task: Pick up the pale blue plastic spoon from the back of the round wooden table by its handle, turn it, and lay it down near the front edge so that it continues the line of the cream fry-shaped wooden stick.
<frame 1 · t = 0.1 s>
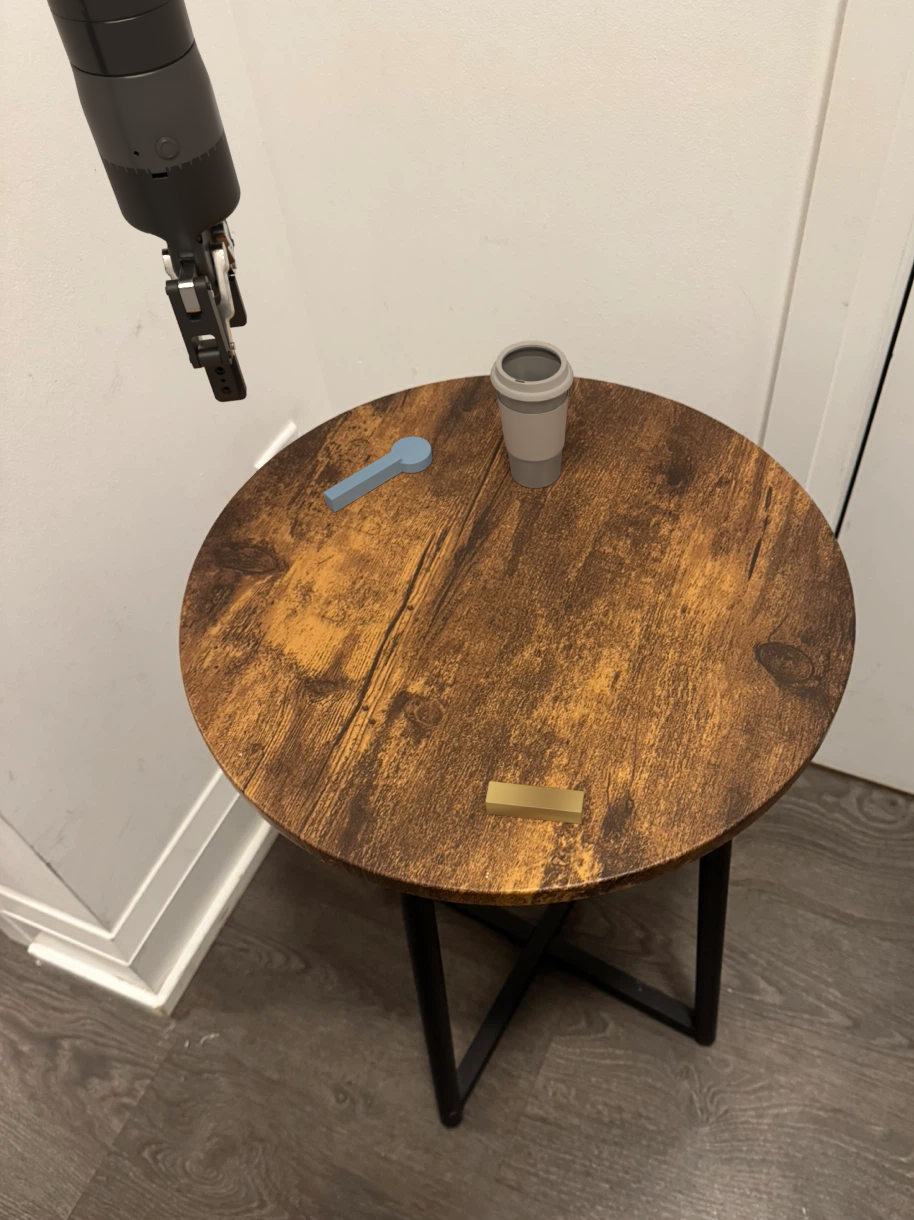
hand: (233, 360, 75), 20 cm above the table, tool pointing down, fingers open, 8 cm apart
spoon: (374, 482, 96), on the table
cup: (535, 472, 97), on the table
fry stick: (535, 808, 76), on the table
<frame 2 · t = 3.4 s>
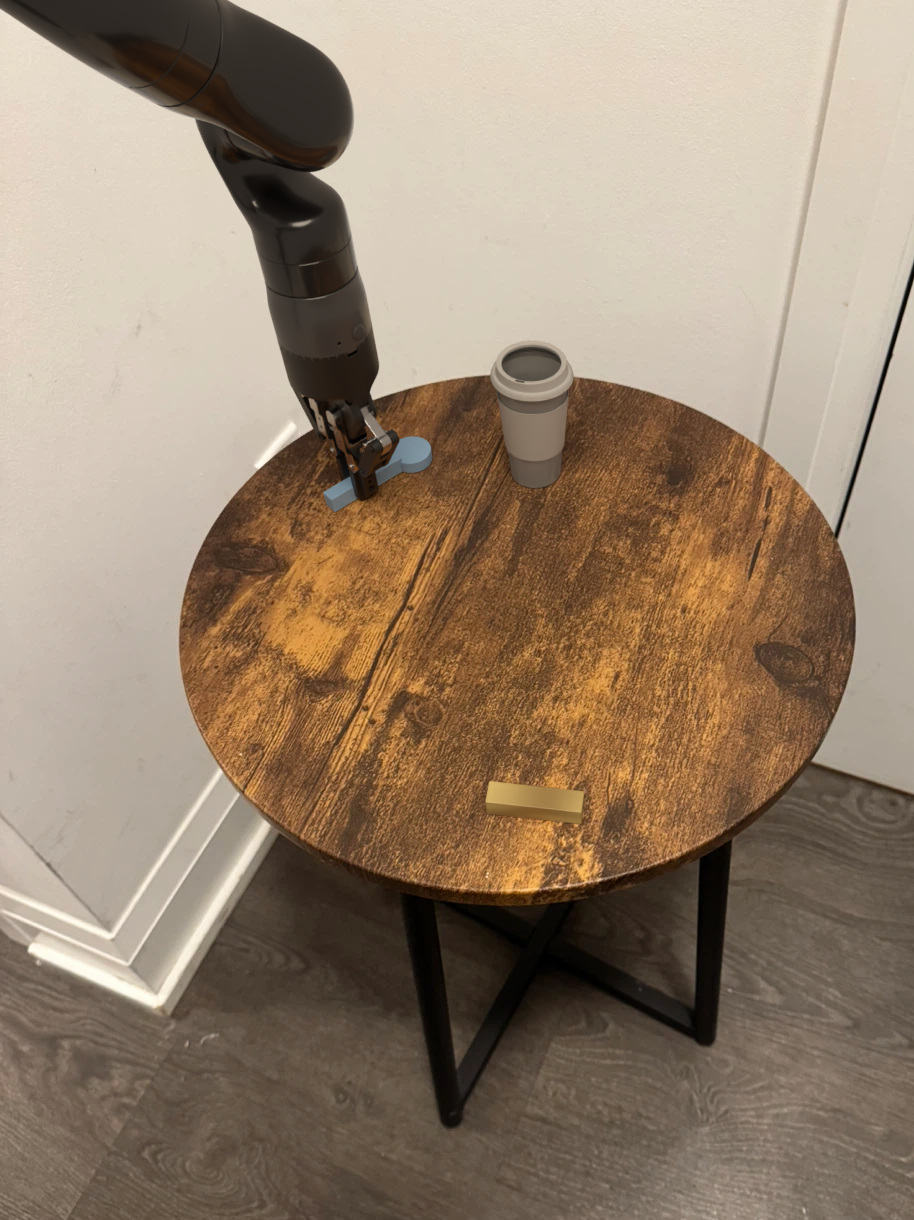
hand: (361, 488, 96), 0 cm above the table, tool pointing down, fingers closed on spoon, 1 cm apart
spoon: (374, 482, 96), on the table, touching gripper
everything else where it was.
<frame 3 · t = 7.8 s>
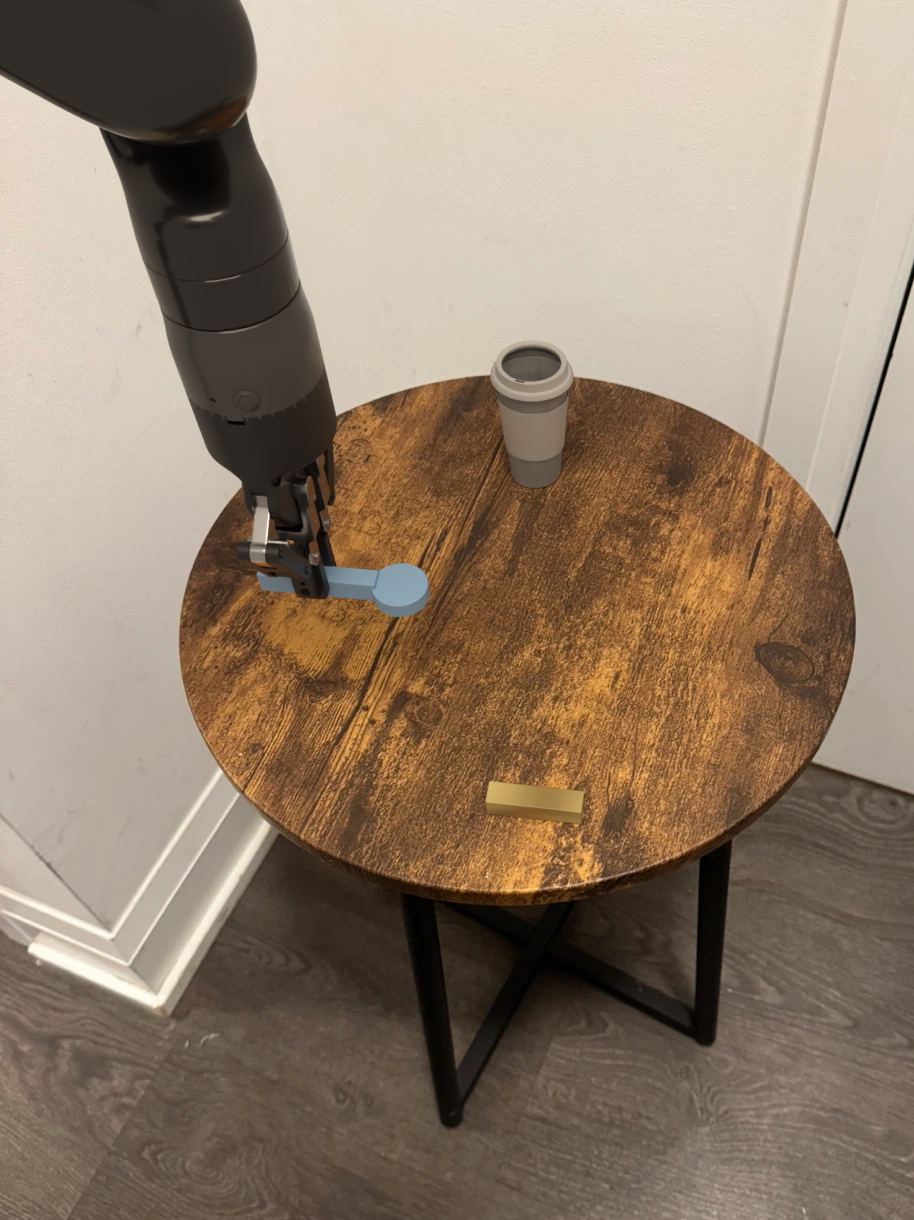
hand: (317, 583, 70), 15 cm above the table, tool pointing down, fingers closed on spoon, 1 cm apart
spoon: (336, 589, 70), point 14 cm above the table, touching gripper
everything else where it was.
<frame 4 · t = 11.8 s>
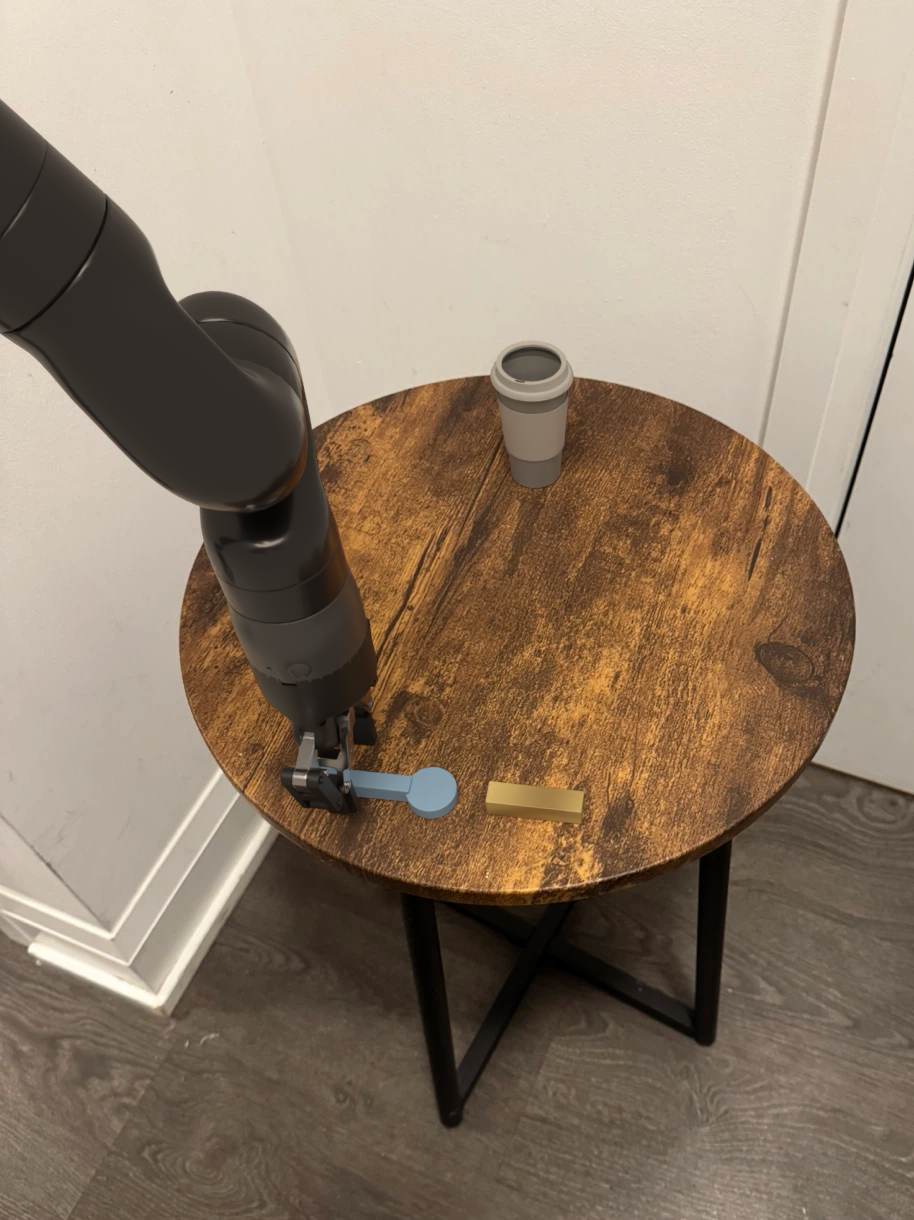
hand: (353, 773, 76), 2 cm above the table, tool pointing down, fingers open, 5 cm apart
spoon: (374, 790, 78), on the table
everything else where it was.
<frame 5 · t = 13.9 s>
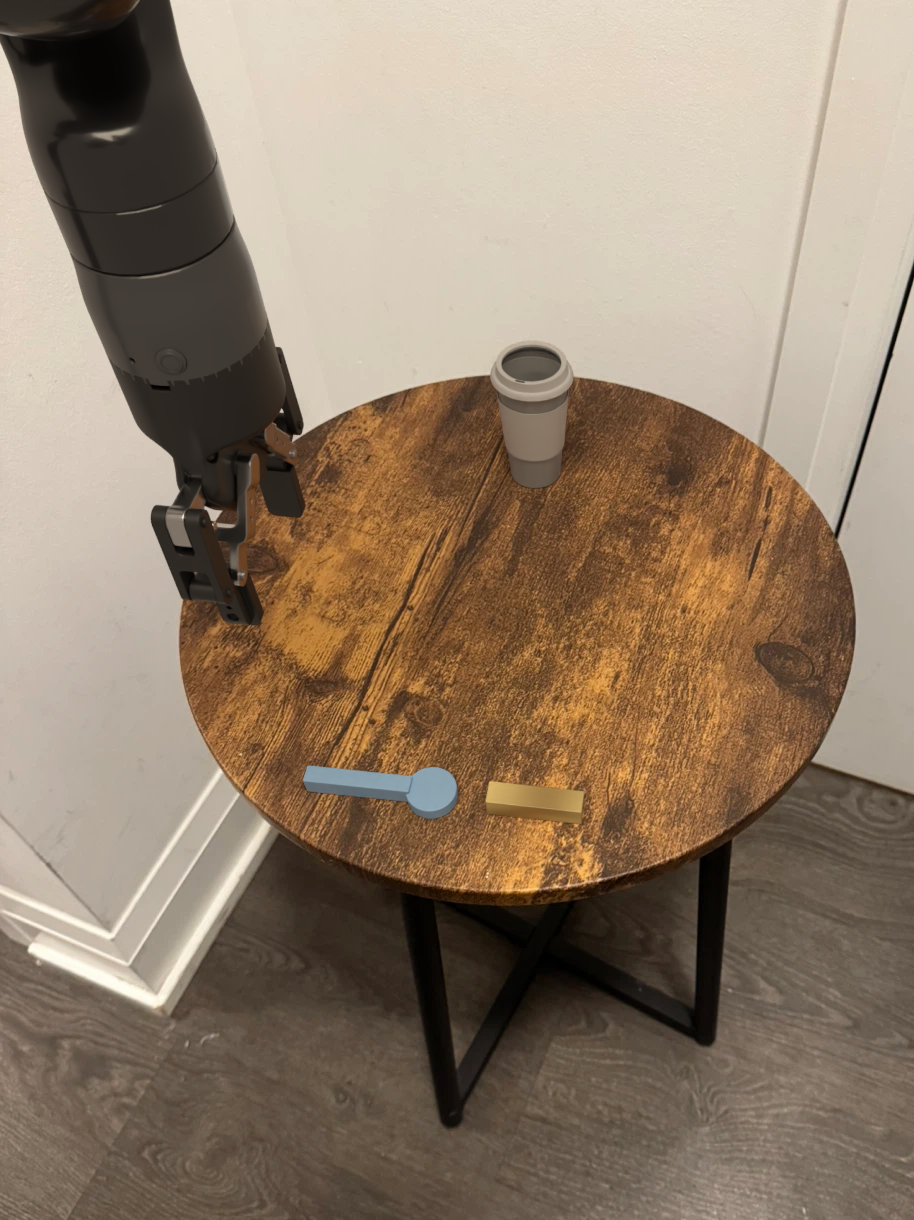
hand: (267, 564, 61), 22 cm above the table, tool pointing down, fingers open, 8 cm apart
nothing on the table moved.
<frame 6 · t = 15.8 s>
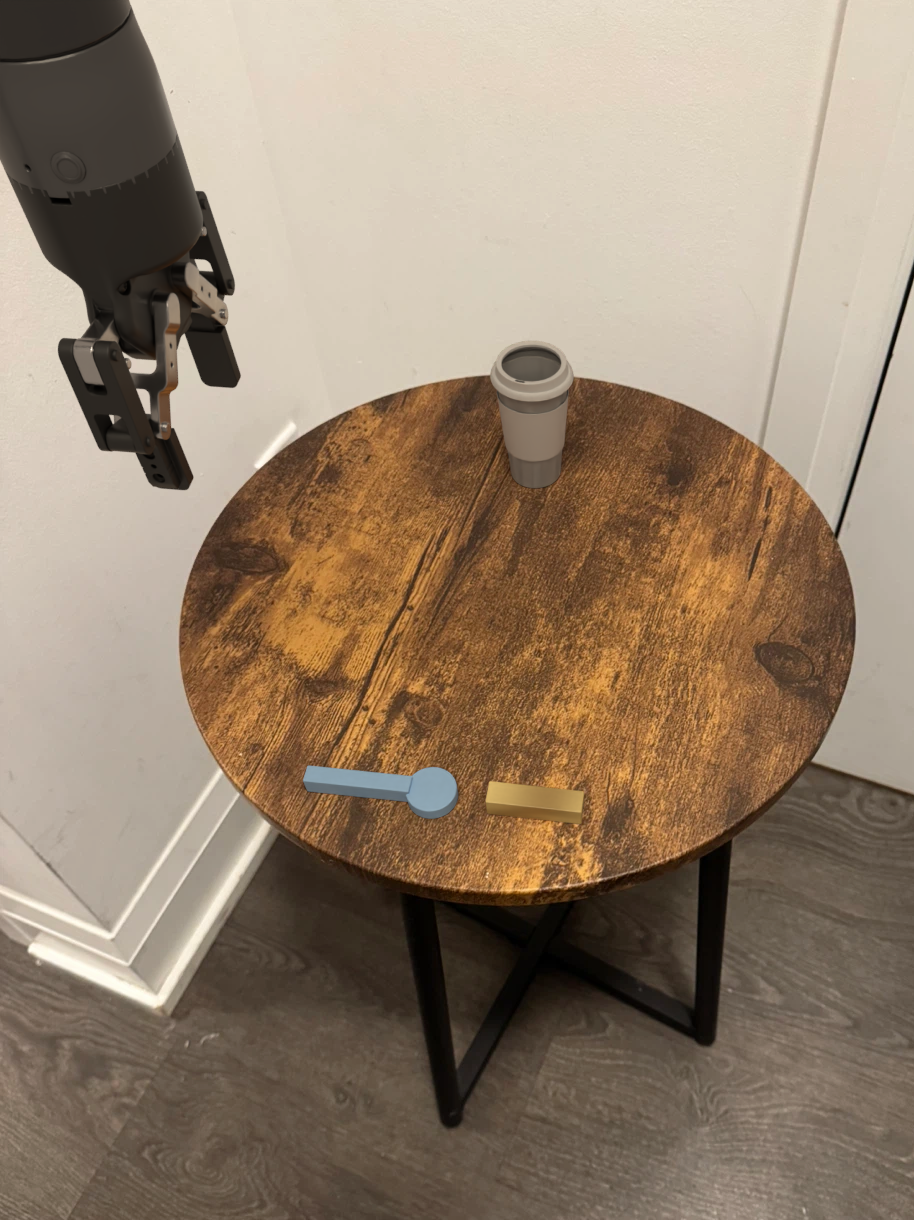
hand: (199, 432, 58), 28 cm above the table, tool pointing down, fingers open, 8 cm apart
nothing on the table moved.
at the end: spoon 0.5 cm from the target spot on the table beside the fry stick, on the table; the gripper is holding nothing; fry stick moved 0.0 cm from its start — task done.
